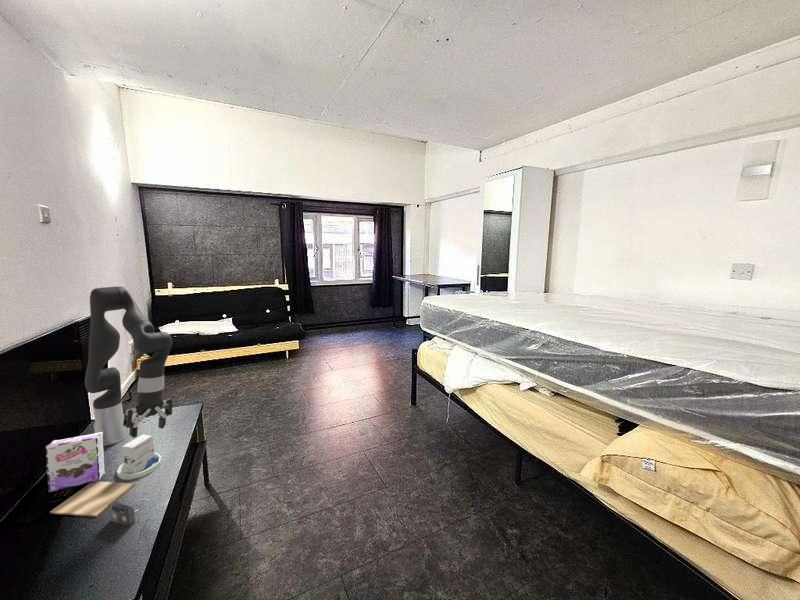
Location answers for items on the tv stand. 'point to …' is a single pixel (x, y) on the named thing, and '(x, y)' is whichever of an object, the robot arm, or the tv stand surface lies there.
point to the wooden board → (92, 499)
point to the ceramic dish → (139, 474)
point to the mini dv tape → (121, 513)
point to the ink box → (138, 454)
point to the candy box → (75, 461)
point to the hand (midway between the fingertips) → (147, 432)
